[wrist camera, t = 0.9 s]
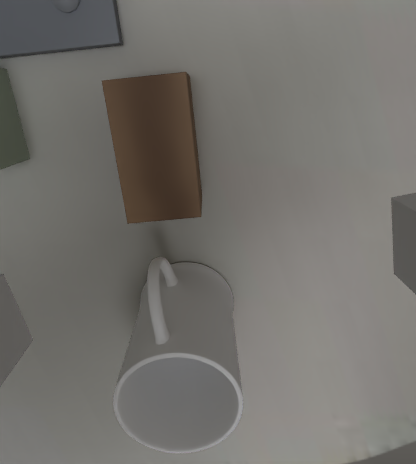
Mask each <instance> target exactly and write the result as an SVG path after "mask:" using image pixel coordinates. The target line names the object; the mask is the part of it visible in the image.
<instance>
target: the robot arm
mask: <svg viewBox="0 0 416 464" xmlns="http://www.w3.org/2000/svg"><path fill="white" fill-rule="evenodd" d="M391 205H392V233H393V261H394V274H395V275H396V276H397V277H398V278H399V279H400V280H401V281H402V282H403V283H404V284H405V285H406V286H407V287H409V288H410V289H411V290H412V291H413V292H414V293H415V294H416V193H412V194H407V195H402V196H397V197H392V198H391ZM32 341H33V338H32V336H31V334H30V332H29V329H28V327H27V325H26V323H25V321H24V318H23V316H22V314H21V312H20V309H19V307H18V305H17V303H16V301H15V298H14V296H13V294H12V292H11V290H10V287H9V285H8V283H7V281H6V278H5V276H4V274H2V275H0V386H1V385H2V383H3V382H4V381H5V379H6V378H7V376H8V375H9V373H10V372H11V371H12V369H13V368H14V366H15V365H16V364H17V362H18V361H19V359H20V358H21V356H22V355H23V354H24V352H25V351H26V349H27V348H28V346H29V345H30V344H31V342H32Z"/></svg>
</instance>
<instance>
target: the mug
mask: <svg viewBox="0 0 416 464" xmlns="http://www.w3.org/2000/svg"><path fill="white" fill-rule="evenodd" d="M233 309H234V300H233V294H232V291H231V289H230V287H229V285H228V283H227V282H226V280H225V279H224V278H223V277H222V276H221V275H220V274H219V273H217V272H216V271H215V270H213V269H211V268H209V267H207V266H205V265H202V264H198V263H192V262H180V263H174V264H171V265H170V263H169V262H168V260H167V259H166V258H164V257H156V258H154V259H153V260H152V261H151V262H150V264H149V268H148V274H147V282H146V284H145V285H144V287H143V290H142V293H141V297H140V309H139V312H138V315H137V319H136V322H135V325H134V328H133V332H132V335H131V338H130V341H129V345H128V348H127V351H126V355H125V358H124V361H123V364H122V368H121V371H120V374H119V377H118V381H117V384H116V387H115V391H114V396H113V408H114V412H115V416H116V418H117V420H118V422H119V424H120V425H121V427H122V428H123V430H124V431H125V432H126V433H127V434H128V435H129V436H130V437H132V438H133V439H134V440H136V441H137V442H139V443H140V444H142V445H144V446H146V447H149V448H151V449H154V450H158V451H162V452H167V453H192V452H197V451H201V450H204V449H207V448H210V447H212V446H214V445H216V444H218V443H220V442H221V441H223V440H224V439H225V438H226V437H228V436H229V435H230V434H231V433H232V431H233V430H234V429H235V428H236V426H237V424H238V423H239V421H240V418H241V415H242V411H243V395H242V386H241V378H240V370H239V362H238V354H237V346H236V338H235V330H234V322H233Z"/></svg>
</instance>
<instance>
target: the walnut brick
mask: <svg viewBox="0 0 416 464" xmlns="http://www.w3.org/2000/svg"><path fill="white" fill-rule="evenodd" d="M102 85H103V90H104V96H105V101H106V107H107V112H108V118H109V123H110V129H111V134H112V140H113V145H114V151H115V156H116V162H117V167H118V173H119V178H120V184H121V189H122V195H123V200H124V206H125V211H126V217H127V222H128V224H129V223H140V222H151V221H162V220H172V219H183V218H194V217H201V209H202V189H201V180H200V170H199V160H198V151H197V141H196V132H195V122H194V112H193V103H192V93H191V83H190V76H189V75H188V74H187V73H186V72H180V73H171V74H161V75H151V76H142V77H132V78H123V79H113V80H103V81H102Z"/></svg>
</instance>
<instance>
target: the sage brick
mask: <svg viewBox="0 0 416 464" xmlns="http://www.w3.org/2000/svg"><path fill="white" fill-rule="evenodd" d="M27 159H30V156H29V152H28V148H27V145H26V141H25V137H24V133H23V130H22V126H21V122H20V118H19V114H18V111H17V107H16V103H15V99H14V95H13V92H12V88H11V84H10V80H9V76H8V73H7V69H0V169H3V168H6V167H8V166H11V165H14V164H16V163H19V162H22V161H25V160H27Z"/></svg>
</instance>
